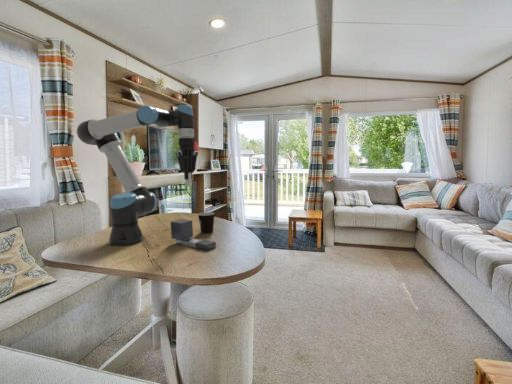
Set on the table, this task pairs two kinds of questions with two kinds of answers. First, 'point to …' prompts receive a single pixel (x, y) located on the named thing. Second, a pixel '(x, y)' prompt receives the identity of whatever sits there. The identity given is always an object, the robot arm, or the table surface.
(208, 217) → the coffee mug
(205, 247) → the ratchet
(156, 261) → the table surface
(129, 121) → the robot arm
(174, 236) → the dark grey cube
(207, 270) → the table surface
